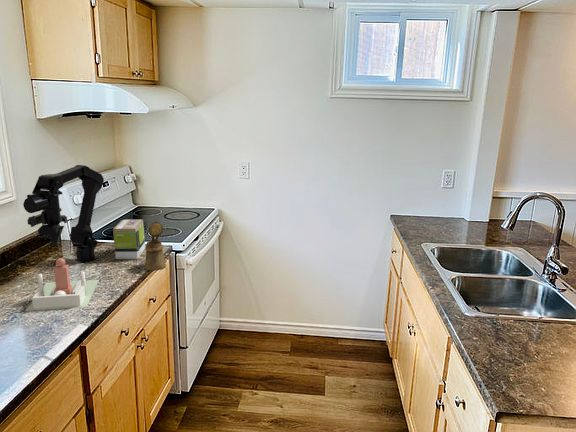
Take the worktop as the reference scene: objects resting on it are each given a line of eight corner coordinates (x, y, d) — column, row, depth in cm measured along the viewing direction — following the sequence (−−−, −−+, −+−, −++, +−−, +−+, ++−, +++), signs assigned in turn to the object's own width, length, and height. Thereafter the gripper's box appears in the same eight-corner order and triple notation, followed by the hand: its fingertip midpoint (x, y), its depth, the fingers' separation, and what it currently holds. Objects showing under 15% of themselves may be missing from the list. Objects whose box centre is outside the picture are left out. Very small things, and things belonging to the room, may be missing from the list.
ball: (56, 297, 149) (58, 306, 151) (68, 291, 152) (69, 300, 154) (50, 292, 151) (52, 300, 153) (61, 286, 154) (63, 295, 156)
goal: (41, 297, 156) (38, 273, 153) (86, 294, 159) (84, 271, 157) (32, 309, 147) (29, 284, 145) (81, 305, 150) (79, 281, 148)
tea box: (124, 248, 209) (122, 218, 205) (145, 248, 210) (144, 218, 206) (114, 259, 195) (112, 227, 191) (138, 259, 196) (136, 227, 192)
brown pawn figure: (168, 259, 197) (167, 221, 192) (164, 270, 184) (162, 229, 179) (148, 259, 196) (146, 221, 191) (142, 271, 183) (140, 230, 178)
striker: (57, 293, 158) (53, 257, 155) (72, 292, 159) (69, 256, 156) (54, 298, 154) (50, 261, 151) (70, 297, 156) (66, 260, 152)
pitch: (46, 283, 168) (45, 279, 167) (99, 280, 172) (98, 276, 172) (25, 312, 146) (24, 306, 145) (86, 307, 150) (86, 302, 149)
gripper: (36, 202, 178) (40, 239, 182) (20, 213, 160) (25, 253, 164) (65, 201, 180) (69, 237, 184) (53, 212, 163) (57, 252, 167)
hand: (55, 245), depth 175 cm, fingers closed
